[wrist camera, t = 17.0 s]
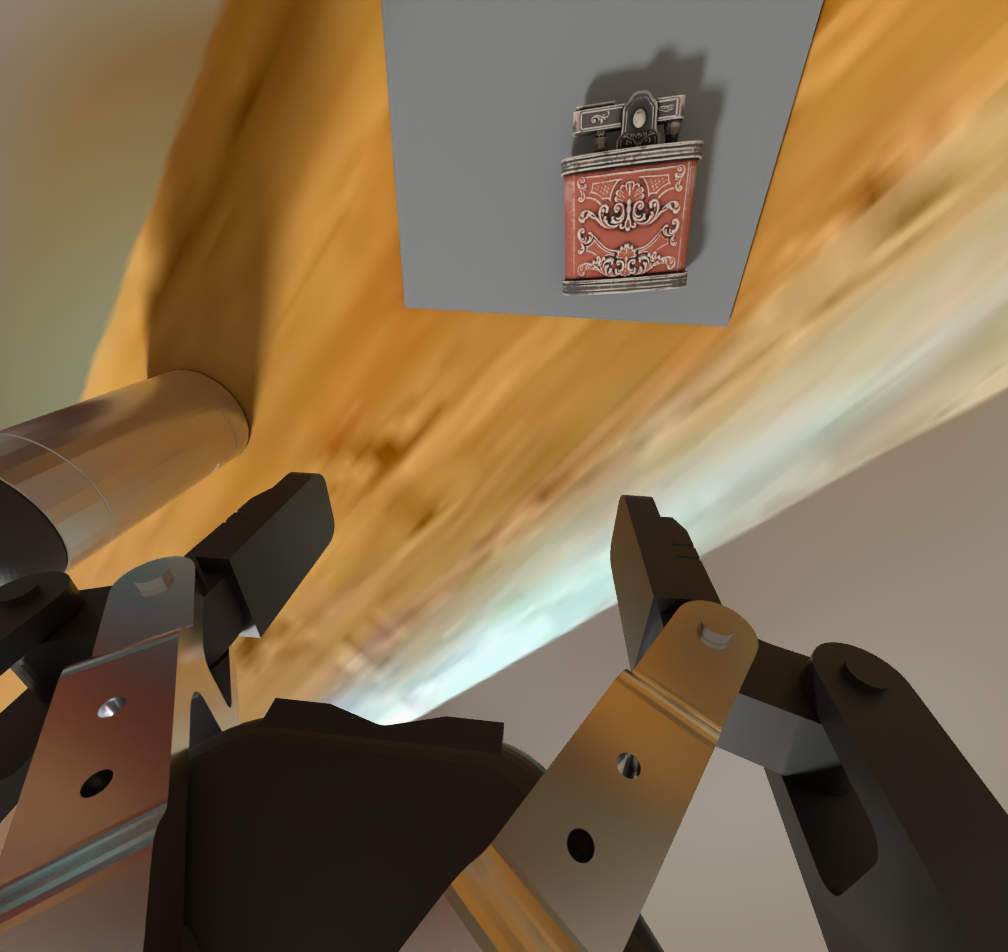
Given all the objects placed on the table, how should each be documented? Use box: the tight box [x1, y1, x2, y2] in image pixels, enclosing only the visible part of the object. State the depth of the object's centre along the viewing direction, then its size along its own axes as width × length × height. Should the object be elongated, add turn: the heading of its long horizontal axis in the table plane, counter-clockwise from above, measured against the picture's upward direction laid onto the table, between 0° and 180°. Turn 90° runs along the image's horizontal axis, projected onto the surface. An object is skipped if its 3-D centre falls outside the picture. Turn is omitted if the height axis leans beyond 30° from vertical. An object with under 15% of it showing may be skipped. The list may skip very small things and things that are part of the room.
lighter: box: [561, 90, 704, 296], centre depth 26 cm, size 8×3×10 cm
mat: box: [381, 0, 823, 327], centre depth 26 cm, size 24×20×1 cm
